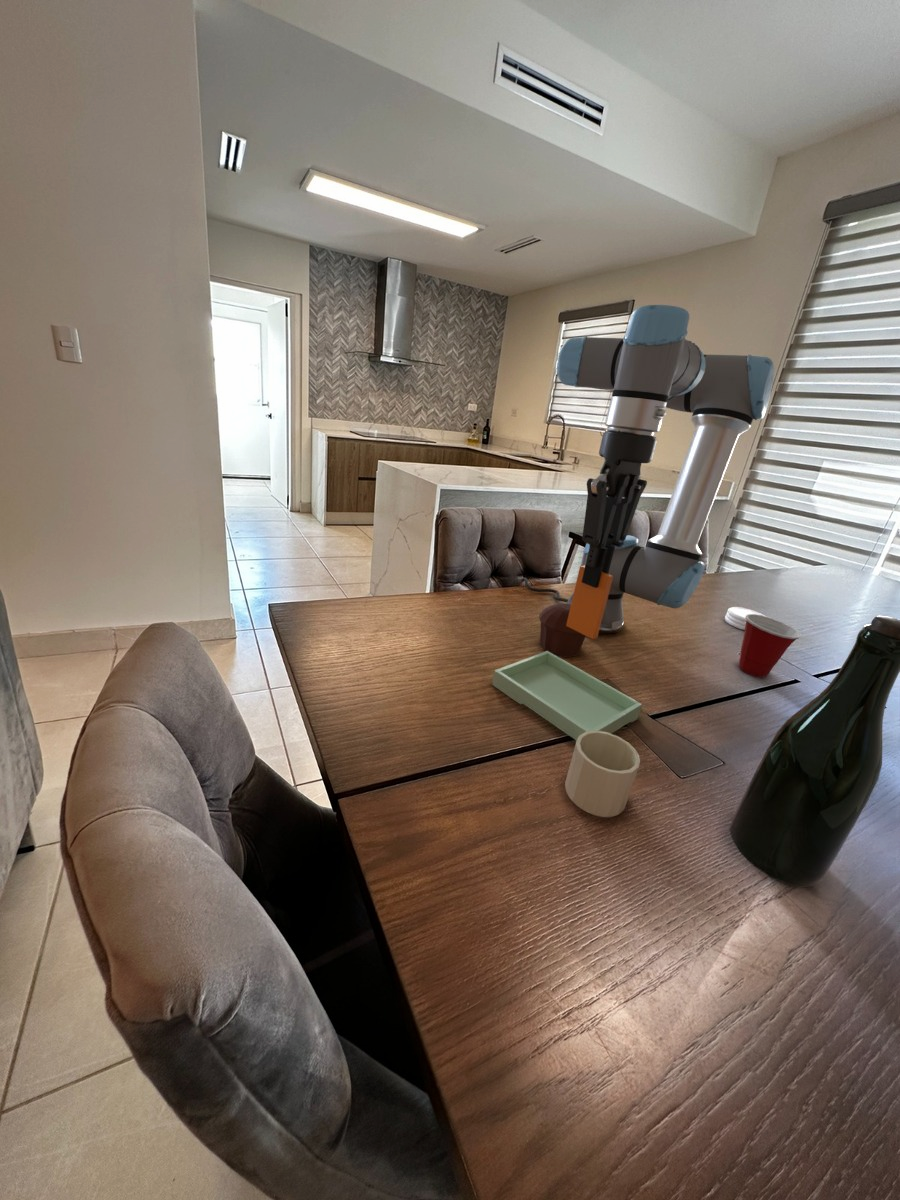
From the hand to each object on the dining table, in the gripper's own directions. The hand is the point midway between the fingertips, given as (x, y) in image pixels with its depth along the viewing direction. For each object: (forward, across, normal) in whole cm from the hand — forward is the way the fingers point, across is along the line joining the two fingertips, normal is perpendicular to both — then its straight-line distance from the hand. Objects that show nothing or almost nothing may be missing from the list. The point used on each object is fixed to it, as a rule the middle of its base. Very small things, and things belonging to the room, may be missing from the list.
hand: (593, 583), depth 77 cm
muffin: (+24, +18, +14) cm, 33 cm away
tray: (+24, 0, +1) cm, 24 cm away
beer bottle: (+24, -3, -35) cm, 43 cm away
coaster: (+24, +78, -4) cm, 82 cm away
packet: (+9, 0, 0) cm, 9 cm away
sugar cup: (+24, -15, -16) cm, 32 cm away
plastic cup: (+24, +50, -16) cm, 58 cm away
